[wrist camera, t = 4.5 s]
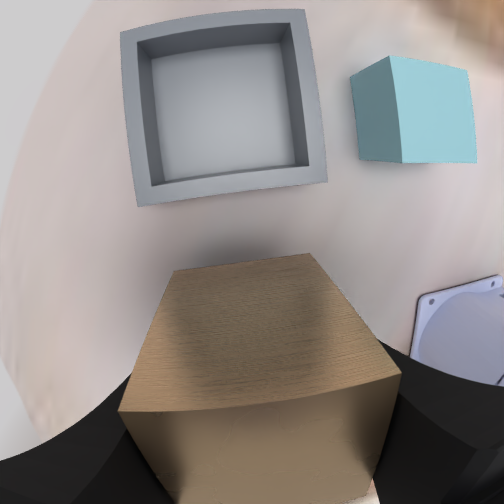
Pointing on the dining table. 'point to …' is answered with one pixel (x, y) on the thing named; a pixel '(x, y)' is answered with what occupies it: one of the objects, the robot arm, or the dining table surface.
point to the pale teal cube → (414, 112)
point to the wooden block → (260, 387)
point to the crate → (221, 105)
